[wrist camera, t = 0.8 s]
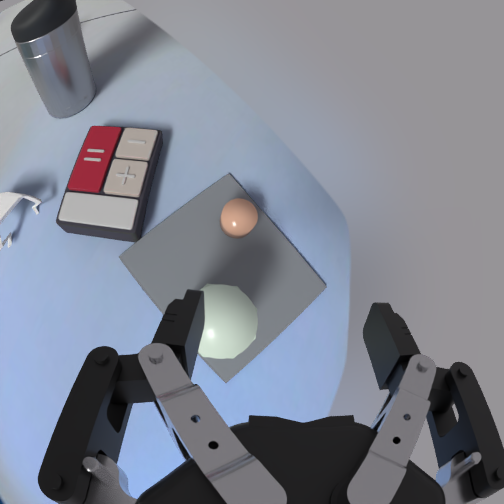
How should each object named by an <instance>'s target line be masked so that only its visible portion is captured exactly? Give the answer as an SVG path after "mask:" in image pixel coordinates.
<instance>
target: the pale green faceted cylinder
mask: <svg viewBox="0 0 504 504" xmlns="http://www.w3.org/2000/svg"><path fill="white" fill-rule="evenodd" d="M201 291H204V305H205V324H204V330H203V334H202V338H201V341H200V345H199V349H198V352H199V353H200V354H201V356H202V357H210V358H216V359H225V358H230V359H234V358H235V357H236V356H237V355H238V354H240V353H242V352H243V351H244V350H245V349H247V347H248V346H249V345H250V344H251V343H252V341H254V340H255V339H256V332H257V326H258V318H257V308H256V307H255V306H254V305H253V303H252V301H251V300H250V299H249V297H248V296H247V295H246V294H245V293H243V292H242V291H241V290H240V289H239V287H238V286H229V285H222V284H218V285H215V284H207V285H205V286H204V287H203V288H202V289H201Z"/></svg>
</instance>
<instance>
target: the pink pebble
mask: <svg viewBox="0 0 504 504" xmlns="http://www.w3.org/2000/svg"><path fill="white" fill-rule="evenodd" d="M257 220H258V213H257V210H256V208H255V206H254V205H253V204H252V203H251V202H249V201H248V200H245V199H240V198H237V199H233V200H230V201H229V202H228V203H226V205H225V206H224V208H223V210H222V213H221V216H220V227H221V229H222V231H223V232H224V233H225V234H226V235H227V236H229V237H231V238H236V239H238V238H243V237H245V236H247V235H248V234H249V233H250V232H251V230H252V229H253V228H254V226H255V225H256V223H257Z"/></svg>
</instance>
